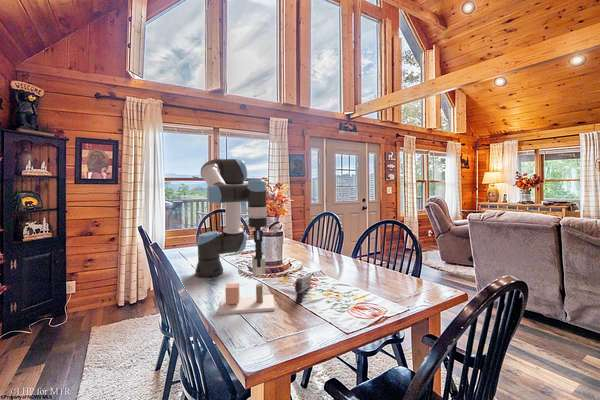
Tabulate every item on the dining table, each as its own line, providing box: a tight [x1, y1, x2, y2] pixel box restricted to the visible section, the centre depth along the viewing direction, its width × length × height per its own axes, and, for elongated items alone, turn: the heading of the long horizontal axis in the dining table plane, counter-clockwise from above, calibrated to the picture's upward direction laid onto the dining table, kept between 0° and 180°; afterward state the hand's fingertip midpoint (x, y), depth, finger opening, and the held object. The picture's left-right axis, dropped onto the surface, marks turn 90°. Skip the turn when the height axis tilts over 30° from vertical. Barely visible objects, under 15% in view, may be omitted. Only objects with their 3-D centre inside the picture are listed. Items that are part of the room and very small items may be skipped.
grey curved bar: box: [294, 274, 312, 304], centre depth 137 cm, size 2×25×10 cm, turn 167°
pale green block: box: [251, 255, 266, 276], centre depth 125 cm, size 5×5×7 cm
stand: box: [218, 282, 276, 315], centre depth 126 cm, size 14×22×9 cm, turn 98°
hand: (259, 272), depth 125 cm, fingers closed on pale green block, 5 cm apart
